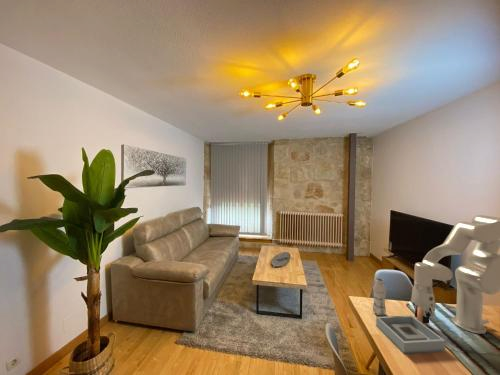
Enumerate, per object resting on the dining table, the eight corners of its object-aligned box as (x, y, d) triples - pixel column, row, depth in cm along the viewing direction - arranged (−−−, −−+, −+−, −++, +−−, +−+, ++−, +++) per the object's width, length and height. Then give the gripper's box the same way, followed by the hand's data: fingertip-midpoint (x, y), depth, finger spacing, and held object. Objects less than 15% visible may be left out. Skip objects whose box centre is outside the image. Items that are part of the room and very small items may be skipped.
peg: (421, 321, 115) (422, 303, 115) (428, 326, 111) (429, 307, 111) (415, 321, 115) (415, 303, 115) (421, 326, 111) (422, 308, 111)
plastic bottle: (388, 318, 118) (388, 283, 117) (374, 316, 119) (375, 281, 119) (383, 311, 124) (384, 277, 124) (370, 309, 126) (371, 276, 125)
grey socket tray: (411, 324, 113) (411, 315, 113) (445, 351, 95) (445, 340, 95) (376, 326, 111) (376, 316, 111) (403, 353, 93) (404, 342, 93)
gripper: (444, 294, 105) (443, 330, 105) (415, 279, 121) (414, 310, 122) (431, 295, 104) (429, 331, 104) (403, 279, 121) (402, 311, 121)
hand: (421, 319), depth 113 cm, fingers closed on peg, 4 cm apart
